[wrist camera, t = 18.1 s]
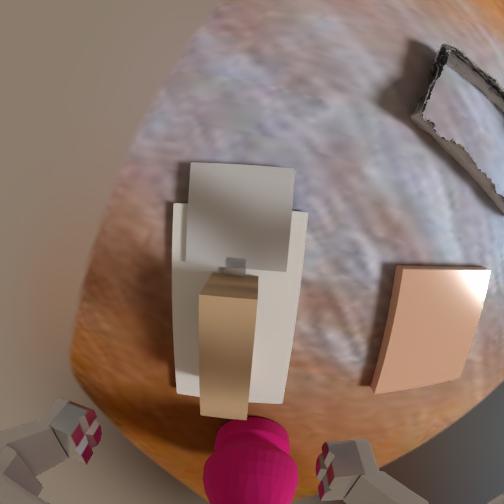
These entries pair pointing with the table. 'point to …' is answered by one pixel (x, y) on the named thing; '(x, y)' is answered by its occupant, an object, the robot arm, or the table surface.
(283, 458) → the pepper mill
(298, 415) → the table surface
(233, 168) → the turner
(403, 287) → the tile
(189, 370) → the pad
